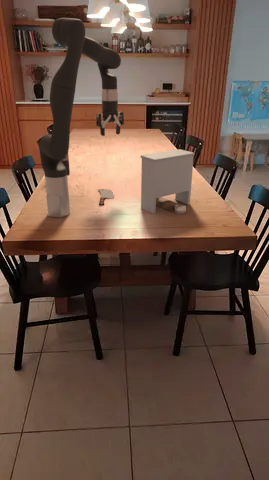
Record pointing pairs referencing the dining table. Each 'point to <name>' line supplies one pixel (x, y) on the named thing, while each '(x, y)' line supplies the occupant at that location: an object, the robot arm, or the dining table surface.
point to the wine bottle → (66, 163)
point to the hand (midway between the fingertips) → (110, 134)
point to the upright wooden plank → (166, 203)
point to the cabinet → (166, 177)
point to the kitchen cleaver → (105, 195)
